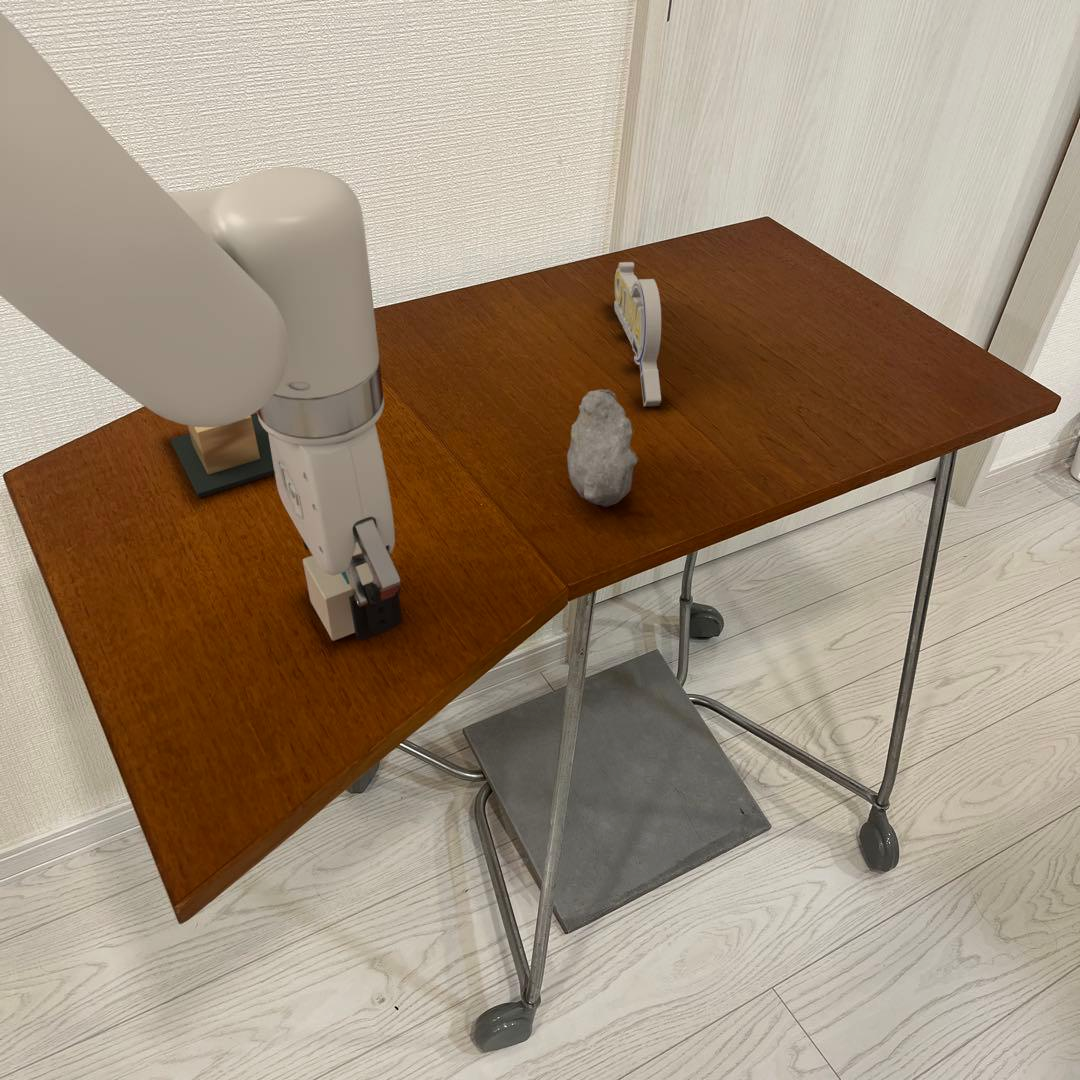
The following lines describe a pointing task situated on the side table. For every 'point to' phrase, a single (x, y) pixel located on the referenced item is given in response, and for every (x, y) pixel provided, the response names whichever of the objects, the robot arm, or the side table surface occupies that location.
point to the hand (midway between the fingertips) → (351, 584)
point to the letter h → (225, 445)
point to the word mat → (230, 476)
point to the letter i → (333, 595)
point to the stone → (601, 450)
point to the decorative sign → (641, 325)
